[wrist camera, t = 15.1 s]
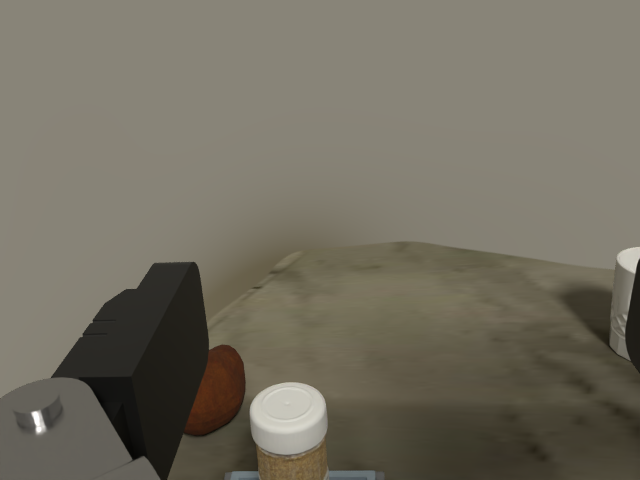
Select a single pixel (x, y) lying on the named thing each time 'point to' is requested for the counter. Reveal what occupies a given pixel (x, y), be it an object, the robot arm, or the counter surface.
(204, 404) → the potato
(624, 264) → the white cup
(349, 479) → the blue square tray
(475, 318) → the counter surface
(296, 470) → the sprinkles bottle
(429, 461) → the counter surface
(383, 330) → the counter surface
